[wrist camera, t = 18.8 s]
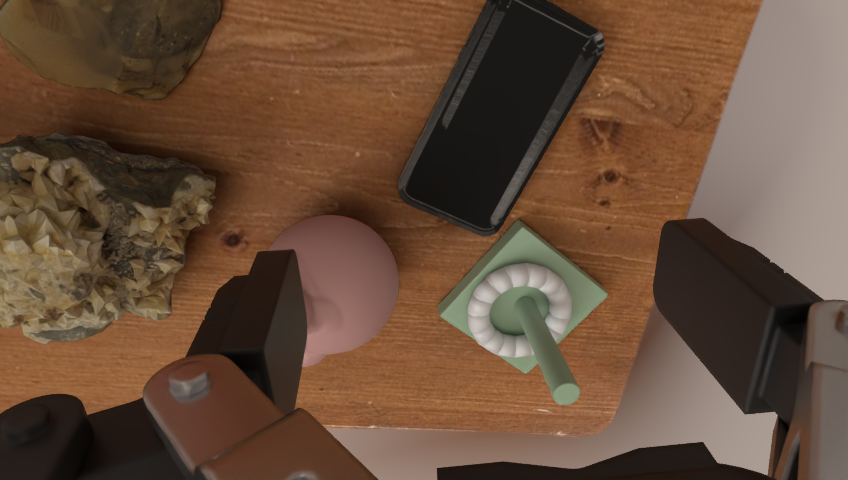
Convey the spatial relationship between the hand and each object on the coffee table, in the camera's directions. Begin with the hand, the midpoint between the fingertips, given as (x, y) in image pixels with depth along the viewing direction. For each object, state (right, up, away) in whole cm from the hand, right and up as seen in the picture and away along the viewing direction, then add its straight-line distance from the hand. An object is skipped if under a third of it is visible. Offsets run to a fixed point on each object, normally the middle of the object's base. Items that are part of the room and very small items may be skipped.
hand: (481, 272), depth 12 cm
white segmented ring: (+6, -5, +29) cm, 30 cm away
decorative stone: (-19, +14, +21) cm, 31 cm away
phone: (+3, +9, +25) cm, 27 cm away
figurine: (-8, -1, +29) cm, 30 cm away
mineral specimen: (-22, +2, +26) cm, 34 cm away
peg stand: (+6, -4, +31) cm, 32 cm away
